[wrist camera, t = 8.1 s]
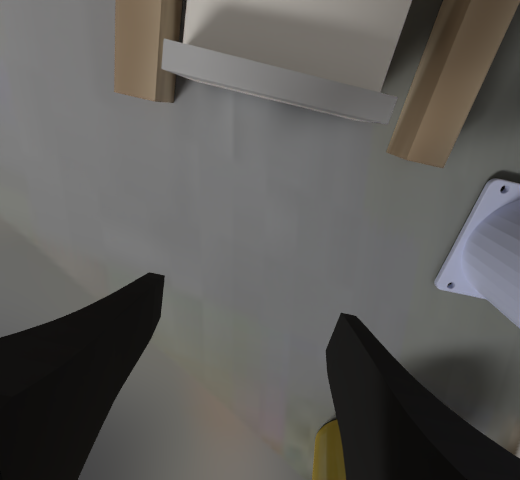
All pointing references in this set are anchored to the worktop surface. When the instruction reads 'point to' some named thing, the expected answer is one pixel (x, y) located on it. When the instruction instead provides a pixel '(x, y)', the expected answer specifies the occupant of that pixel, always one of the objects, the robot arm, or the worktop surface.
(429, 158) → the wooden u-shaped frame
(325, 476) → the plant pot
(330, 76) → the grey l-shaped bracket
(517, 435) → the worktop surface
